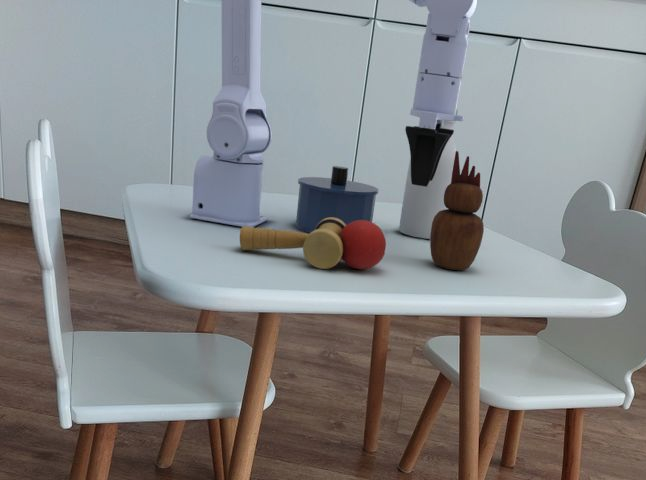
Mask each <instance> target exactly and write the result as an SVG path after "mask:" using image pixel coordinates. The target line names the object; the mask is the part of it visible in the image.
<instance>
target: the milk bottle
mask: <svg viewBox="0 0 646 480" xmlns="http://www.w3.org/2000/svg"><path fill="white" fill-rule="evenodd" d="M455 115H458V107H457V108H456V114H455ZM455 124H456V121H443V126H442V127H441V128H445V129H451V130H454V125H455ZM456 151H457V147H456V141H455V137H454V134H453V135H452V136H451V137H450V139H449V141H448V142H447V144H446V146H445V148H444V150H443V152H442V155H441V158H440V161H439V164H438V167H437V170H436V172H435V175H434V177H433V179H432V181H429V184H428V186H427V187H425V186H419V185H413V184H412V182H411V157H410V158H409V163H408V169H407V175H406V180H405V186H404V192H403V199H402V204H401V205H402V206H401V210H400V211H401V213H400V219H399V226H398V227H399V228H398V229H399V232H400V233H401V234H404V235H407V236H410V237H414V238H420V239H428V240H430V235H431V227H432V222H433V219H434V217H435V215H436V214H437V213H438V212H439V211H442V210H446V209H448V208H446V207H445V205H444V193H445V190H446V188H447V186H448V185H449V184H451V178H452V171H453V165H454V159H455V153H456Z"/></svg>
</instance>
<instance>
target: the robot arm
mask: <svg viewBox="0 0 646 480" xmlns="http://www.w3.org/2000/svg"><path fill="white" fill-rule="evenodd" d="M409 1H410V2H411V3H412V4H415V6H417V7H420V8H423V7H426V8H427V10H428V12H429V13H428V14H427V18H426V19H427V20H426V26H425V32H424V34H423V38H422V45H421V50H420V58H419V59H420V60H419V64H418V70H417V77H416V83H415V88H414V89H415V90H414V95H413V96H414V97H413V103H412V108H410V113H409V115H410V116H412V117H417V118H419V121H418V125H415V126H411V125H406V126H405V134H406V138H407V141H408V146H409V153H410V154H409V155H410V158H411V182H412V184H413V185H419V186H425V187H427V186H428V184H429V181H432V179H433V177H434V175H435V172H436V170H437V167H438V164H439V161H440V158H441V155H442V152H443V150H444V148H445V146H446V144H447V142H448V141H449V139H450V137H451V136H452V135H453V136H454V134H455V133H454V132H455V130H454V129H453V130H451V129H445V128H441V127H442V126H443V121H455V122H464V119H465V116H464V115H459V114H457V115H455V114H456V108H457V109H458V107H457V106H458V101H459V95H460V90H461V84H462V80H463V73H464V68H465V62H466V57H467V51H468V46H469V40H468V36H469V33H470V31H471V18H472V17H473V15H474V13H476V12H475V11H476V9H477V5H478V0H409ZM261 63H262V0H221V88H220V90H219V91H218V93H217V95H216V96H215V97H214V99H213V101H212V112H211V113H212V114H211V116H210V119H209V121H208V124H207V126H206V140H207V143H208V145H209V147H210V149H211V150H212V151H213V155H202V156H200V157H199V158H198V160H197V161H196V164H195V168H194V171H193V186H192V187H193V188H192V206H191V207H192V208H191V209H192V211H191V214H190V215H189V218H190V219H195V220H201V221H206V222H212V223H219V224H224V225H231V226H235V227H241V228H242V227H243V226H247V227H254V228H255V227H256V226H259V225H261V224H263V223H264V222H267V221H268V220H269V217H267V216H264V215H263V216H262V215H260V212H261V198H262V187H263V172H264V161H265V159H264V152H265V151H267V150H268V149H269V147H270V145H271V142H272V138H273V130H272V127H271V124H270V121H269V119H268V116H267V115H268V114H267V103H266V101H265V98H264V96H263V93H262V90H261V68H262V67H261V65H262V64H261Z"/></svg>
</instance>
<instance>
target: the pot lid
mask: <svg viewBox="0 0 646 480" xmlns="http://www.w3.org/2000/svg"><path fill="white" fill-rule="evenodd" d="M348 176H349V167H345V166H339V165H333V166H332V169H331V177H322V176H321V177H319V176H318V177H317V176H305V177H299V178H298V179H297V184H298V185H299V186H300V185H302V186H304V187H307V188H311V189H315V190H320V191H325V192H331V193H338V194H347V195H362V196H368V195H376V196H377V195H378V194H379V188H377V187H375V186H373V185H370V184H367V183H363V182H357V181H353V180H348V178H349V177H348Z"/></svg>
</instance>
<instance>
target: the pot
mask: <svg viewBox="0 0 646 480" xmlns="http://www.w3.org/2000/svg"><path fill="white" fill-rule="evenodd" d="M376 198H377V194H376V195H368V196H362V195H347V194H338V193H331V192H325V191H320V190H315V189H311V188H307V187H304V186H302V185H300V184H299V188H298V199H297V209H296V219H295V222H296V224H295V227H296V229H298V230H300V231H302V232H304V233H306V234H310V233H311V232H312V231H314V230H315V228H316V226H317V225H318V223H319V222H320V221H322V220H323V219H325V218H329V217H334V218H338V219H340V220H341V221H343V222H344V223H345V224H346V225H348V224H349V223H351V222H354V221H357V220H366V221H370V222H372V223H373V219H374V212H375V206H376V205H375V204H376Z"/></svg>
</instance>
